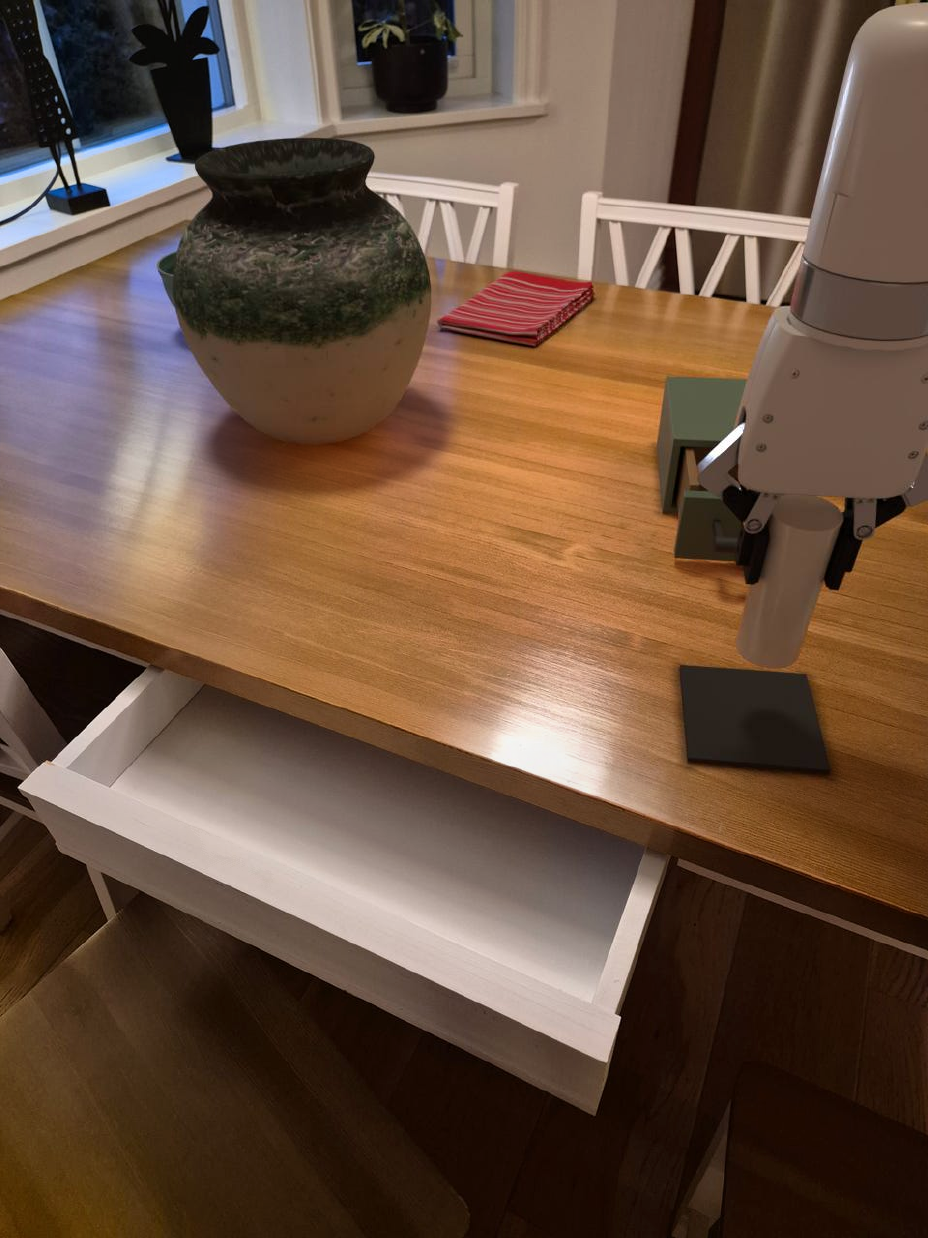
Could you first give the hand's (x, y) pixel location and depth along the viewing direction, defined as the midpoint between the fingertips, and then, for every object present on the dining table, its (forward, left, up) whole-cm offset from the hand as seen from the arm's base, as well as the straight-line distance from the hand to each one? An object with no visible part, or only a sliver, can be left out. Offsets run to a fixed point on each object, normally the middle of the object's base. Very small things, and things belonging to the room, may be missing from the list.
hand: (788, 572), depth 55 cm
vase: (+46, -45, -14) cm, 66 cm away
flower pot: (+69, -74, -14) cm, 102 cm away
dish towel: (+25, -85, -14) cm, 90 cm away
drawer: (-1, -24, -13) cm, 28 cm away
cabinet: (-1, -36, -14) cm, 39 cm away
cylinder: (0, 0, -7) cm, 7 cm away
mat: (0, 0, -14) cm, 14 cm away
